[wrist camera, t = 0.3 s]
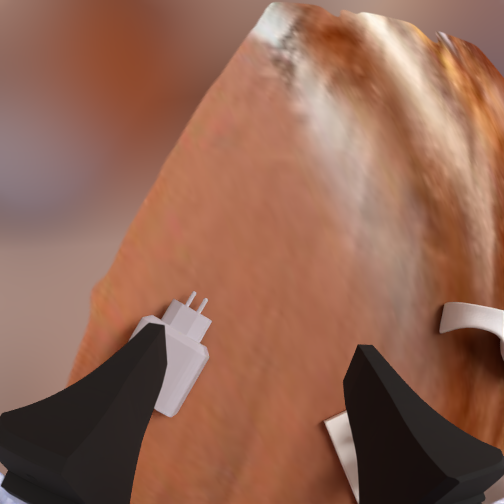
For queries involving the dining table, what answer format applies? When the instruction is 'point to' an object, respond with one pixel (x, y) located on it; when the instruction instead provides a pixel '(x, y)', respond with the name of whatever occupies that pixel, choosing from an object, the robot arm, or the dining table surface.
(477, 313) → the spoon rest
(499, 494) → the cylinder vase
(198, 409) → the dining table surface
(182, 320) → the charger
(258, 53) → the dining table surface
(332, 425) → the white slide rail base
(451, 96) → the dining table surface
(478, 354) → the dining table surface
